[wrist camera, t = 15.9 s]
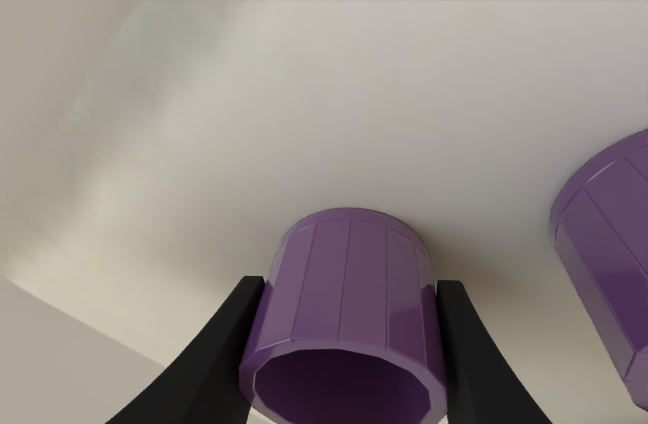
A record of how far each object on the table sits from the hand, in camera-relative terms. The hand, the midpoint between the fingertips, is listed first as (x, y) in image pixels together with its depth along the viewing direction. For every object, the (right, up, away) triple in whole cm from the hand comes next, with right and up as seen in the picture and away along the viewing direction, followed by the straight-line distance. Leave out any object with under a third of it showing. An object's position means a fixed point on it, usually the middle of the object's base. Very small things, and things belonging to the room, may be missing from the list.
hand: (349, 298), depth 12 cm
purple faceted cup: (0, +1, +1) cm, 1 cm away
